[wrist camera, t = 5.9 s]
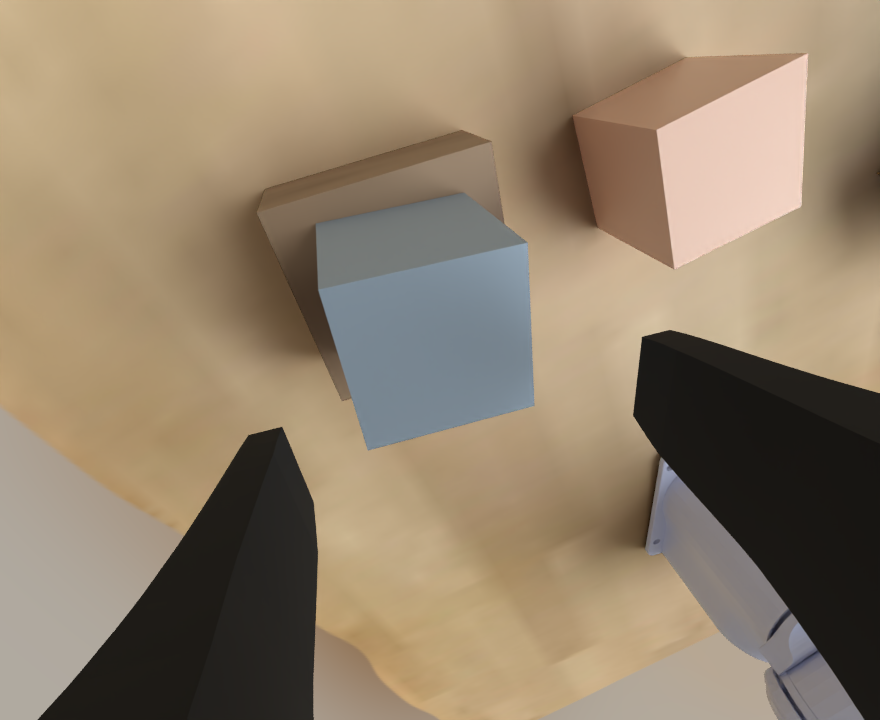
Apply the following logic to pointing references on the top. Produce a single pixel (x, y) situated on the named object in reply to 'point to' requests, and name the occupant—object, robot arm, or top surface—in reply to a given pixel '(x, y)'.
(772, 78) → the terracotta block
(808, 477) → the robot arm
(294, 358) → the top surface
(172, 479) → the top surface
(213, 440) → the top surface
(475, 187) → the walnut base
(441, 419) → the slate block
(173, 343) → the top surface
